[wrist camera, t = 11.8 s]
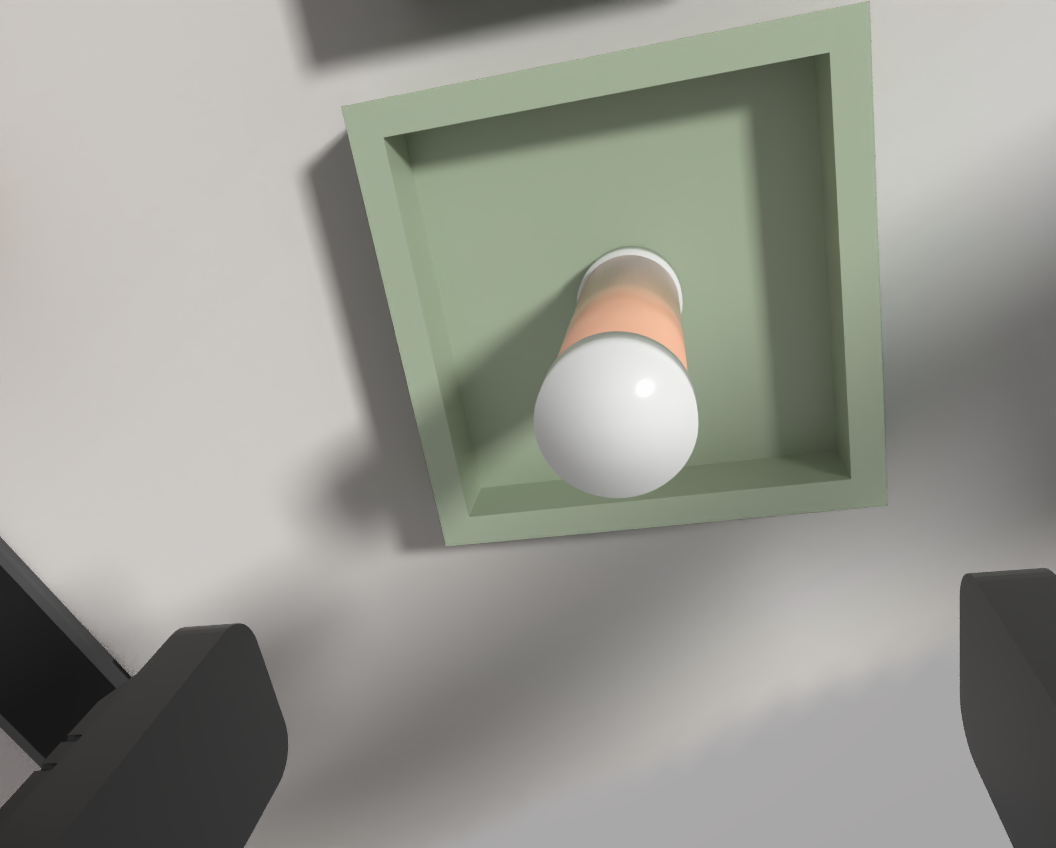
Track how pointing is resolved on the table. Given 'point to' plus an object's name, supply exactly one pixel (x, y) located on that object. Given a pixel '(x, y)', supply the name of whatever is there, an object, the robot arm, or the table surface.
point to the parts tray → (659, 225)
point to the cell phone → (45, 662)
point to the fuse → (620, 381)
